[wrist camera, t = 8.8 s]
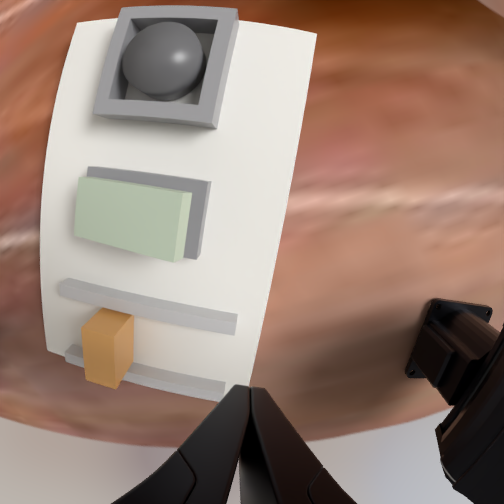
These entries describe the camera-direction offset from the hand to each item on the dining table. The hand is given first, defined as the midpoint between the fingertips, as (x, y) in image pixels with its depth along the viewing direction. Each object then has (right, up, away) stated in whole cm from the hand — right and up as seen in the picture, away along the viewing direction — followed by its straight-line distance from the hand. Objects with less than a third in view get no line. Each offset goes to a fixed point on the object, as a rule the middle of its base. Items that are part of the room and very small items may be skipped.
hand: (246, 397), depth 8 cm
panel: (-6, +7, +11) cm, 14 cm away
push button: (-4, +14, +7) cm, 16 cm away
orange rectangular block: (-8, -1, +11) cm, 14 cm away
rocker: (-6, +6, +6) cm, 10 cm away
